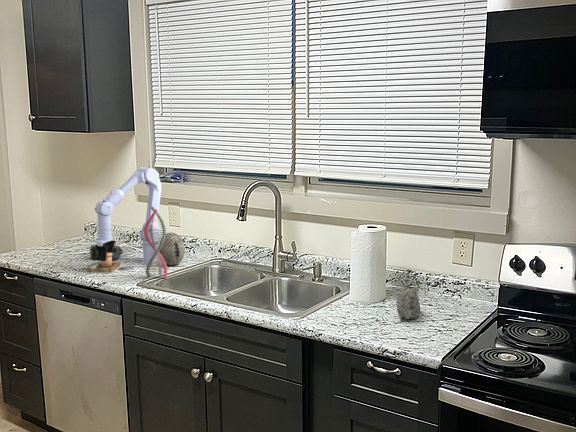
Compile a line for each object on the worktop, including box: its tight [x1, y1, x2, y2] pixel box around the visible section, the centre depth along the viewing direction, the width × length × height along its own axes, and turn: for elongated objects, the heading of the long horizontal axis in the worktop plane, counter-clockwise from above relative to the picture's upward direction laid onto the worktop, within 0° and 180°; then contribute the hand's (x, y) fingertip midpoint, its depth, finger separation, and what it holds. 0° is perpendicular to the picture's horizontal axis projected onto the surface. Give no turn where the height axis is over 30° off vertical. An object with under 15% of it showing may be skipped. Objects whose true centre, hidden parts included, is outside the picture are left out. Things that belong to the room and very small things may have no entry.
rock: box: [396, 287, 421, 320], centre depth 217 cm, size 15×8×10 cm, turn 142°
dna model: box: [144, 207, 168, 279], centre depth 264 cm, size 9×9×30 cm
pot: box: [100, 252, 113, 268], centre depth 280 cm, size 5×5×7 cm
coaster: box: [118, 265, 135, 272], centre depth 281 cm, size 7×7×1 cm
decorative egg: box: [159, 232, 186, 266], centre depth 288 cm, size 12×12×15 cm
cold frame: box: [85, 260, 121, 274], centre depth 281 cm, size 11×13×2 cm
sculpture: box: [89, 244, 124, 261], centre depth 299 cm, size 12×8×15 cm
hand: (106, 258), depth 280 cm, fingers open, 7 cm apart
